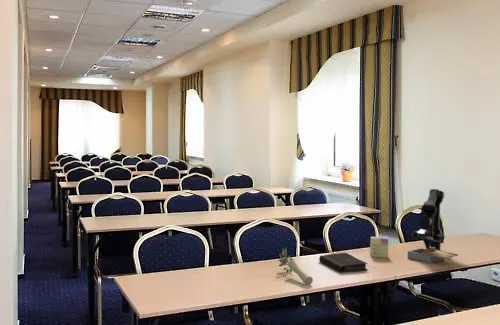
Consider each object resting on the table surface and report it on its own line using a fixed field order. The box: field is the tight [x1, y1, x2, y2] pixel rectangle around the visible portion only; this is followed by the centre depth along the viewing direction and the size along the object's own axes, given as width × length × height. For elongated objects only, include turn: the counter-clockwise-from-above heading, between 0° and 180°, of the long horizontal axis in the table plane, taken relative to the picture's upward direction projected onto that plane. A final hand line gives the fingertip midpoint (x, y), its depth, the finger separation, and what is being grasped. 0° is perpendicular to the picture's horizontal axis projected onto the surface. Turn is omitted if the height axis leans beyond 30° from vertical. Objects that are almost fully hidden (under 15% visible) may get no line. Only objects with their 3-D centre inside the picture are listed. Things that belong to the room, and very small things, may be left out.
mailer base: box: [407, 247, 445, 265], centre depth 316 cm, size 14×16×4 cm
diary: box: [318, 252, 369, 274], centre depth 298 cm, size 19×25×5 cm
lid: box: [421, 246, 459, 260], centre depth 308 cm, size 14×16×3 cm
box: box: [369, 236, 389, 258], centre depth 322 cm, size 10×6×12 cm, turn 84°
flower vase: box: [278, 246, 314, 286], centre depth 277 cm, size 12×12×35 cm
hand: (427, 249), depth 314 cm, fingers closed
